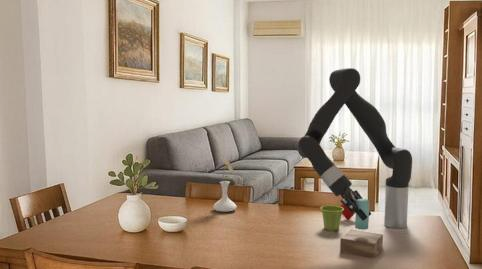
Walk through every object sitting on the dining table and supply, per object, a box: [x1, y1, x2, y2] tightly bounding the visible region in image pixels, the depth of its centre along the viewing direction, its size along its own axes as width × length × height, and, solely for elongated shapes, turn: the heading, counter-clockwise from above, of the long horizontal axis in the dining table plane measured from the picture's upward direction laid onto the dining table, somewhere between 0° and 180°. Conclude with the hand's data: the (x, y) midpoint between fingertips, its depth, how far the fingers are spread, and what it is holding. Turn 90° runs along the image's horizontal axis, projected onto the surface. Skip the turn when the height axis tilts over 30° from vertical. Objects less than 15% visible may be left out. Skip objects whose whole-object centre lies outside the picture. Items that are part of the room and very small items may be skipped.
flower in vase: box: [212, 157, 238, 213], centre depth 221 cm, size 13×11×25 cm
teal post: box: [354, 198, 370, 231], centre depth 167 cm, size 5×5×10 cm
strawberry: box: [339, 203, 356, 221], centre depth 206 cm, size 6×8×10 cm
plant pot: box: [320, 205, 344, 232], centre depth 193 cm, size 9×9×9 cm
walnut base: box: [339, 229, 384, 259], centre depth 168 cm, size 12×12×5 cm
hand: (367, 217), depth 166 cm, fingers closed on teal post, 4 cm apart
